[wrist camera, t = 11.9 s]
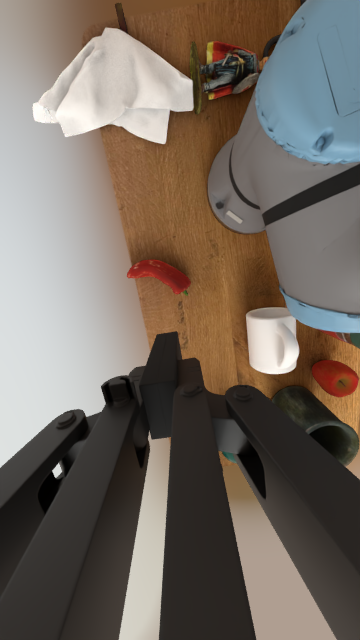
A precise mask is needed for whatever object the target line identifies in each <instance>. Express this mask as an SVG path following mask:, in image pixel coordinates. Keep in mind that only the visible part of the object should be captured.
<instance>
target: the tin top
mask: <svg viewBox="0 0 360 640" xmlns="http://www.w3.org/2000/svg"><path fill="white" fill-rule="evenodd" d="M343 337H344V339H345V340H346V341H347V342H348V343H350V344H352V345H354V346H356V347H357V348H359V349H360V333H343Z"/></svg>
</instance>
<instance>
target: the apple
mask: <svg viewBox="0 0 360 640" xmlns="http://www.w3.org/2000/svg"><path fill="white" fill-rule="evenodd" d="M312 375H313V377H314V379H315V380H316V381H317V383H318V384H319V385H320V386H321V387H322V389H323V390H325V391H326V392H327V393H329V394H330V395H333V396H336V397H344V396H347V395H350V394H351V393H353V392H354V391H355V389H356V387H357V385H358V381H359V378H358V375H357V373H356V372H355V371H354V370H352V369H351V368H350V367H348V366H347V365H345V364H343V363H341V362H338V361H333V360H322V361H319V362H317V363H315V364H314V365H313V367H312Z"/></svg>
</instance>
